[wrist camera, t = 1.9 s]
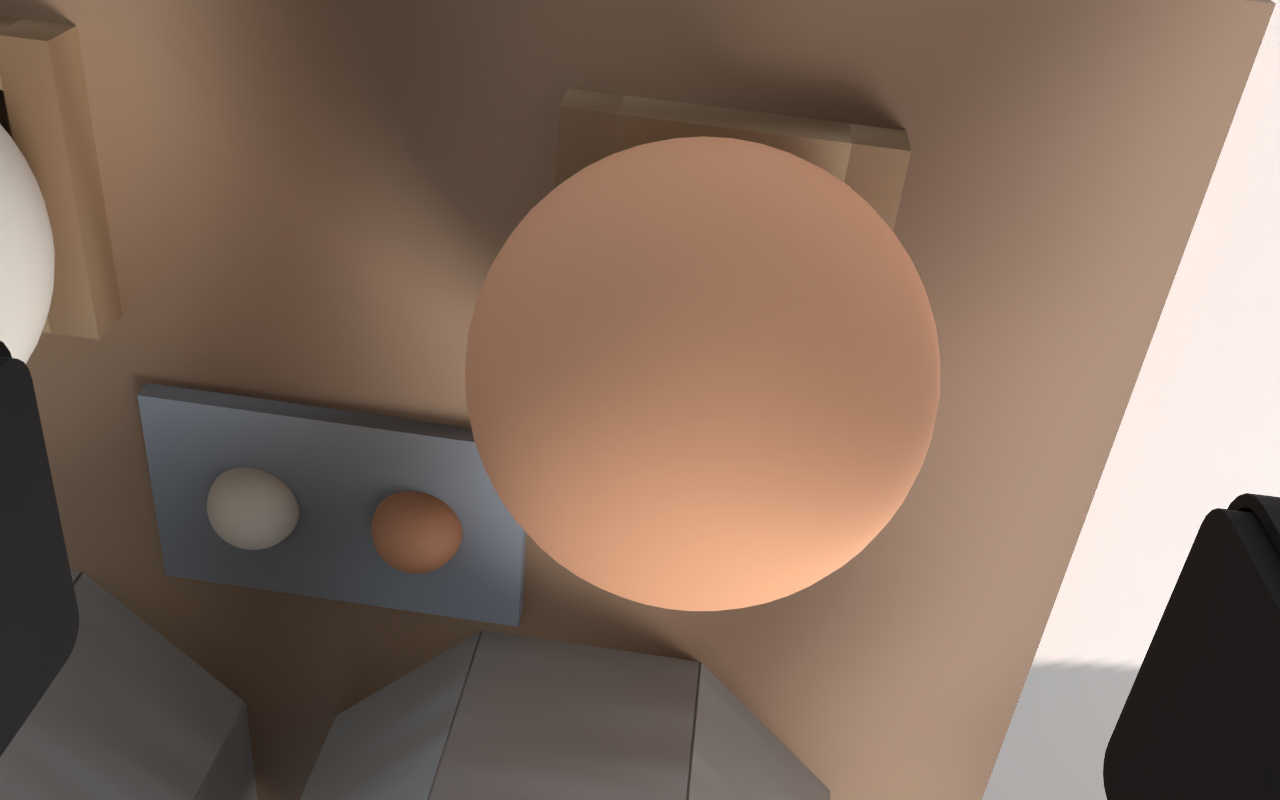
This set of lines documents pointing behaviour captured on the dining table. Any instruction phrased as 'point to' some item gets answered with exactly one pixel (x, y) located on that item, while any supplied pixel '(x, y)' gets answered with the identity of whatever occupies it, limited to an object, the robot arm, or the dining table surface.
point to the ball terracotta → (702, 374)
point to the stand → (436, 393)
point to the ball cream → (23, 253)
